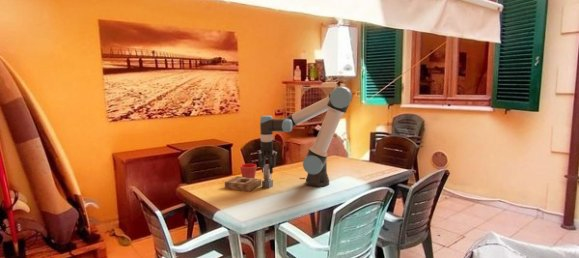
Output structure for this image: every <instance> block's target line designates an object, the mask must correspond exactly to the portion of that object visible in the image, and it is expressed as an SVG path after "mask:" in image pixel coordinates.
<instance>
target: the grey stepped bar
mask: <svg viewBox="0 0 579 258" xmlns="http://www.w3.org/2000/svg"><path fill="white" fill-rule="evenodd" d="M268 169H269V163H265V165H264V178H263V180H261V188H264V189H271V188H272V187H274V180H273V179H272V178H271V179H269V178H268Z"/></svg>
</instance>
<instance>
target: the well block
mask: <svg viewBox="0 0 579 258" xmlns="http://www.w3.org/2000/svg"><path fill="white" fill-rule="evenodd" d="M259 187H262V179H260V178H256V177H255V178H247V177H242V176H235V177H233V178H231V179H228V180H226V181H224V189H228V190H234V191H235V190H236V191H240V192H241V191H242V192H252V191H253V190H255V189H257V188H259Z"/></svg>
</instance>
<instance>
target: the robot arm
mask: <svg viewBox="0 0 579 258" xmlns="http://www.w3.org/2000/svg"><path fill="white" fill-rule="evenodd" d="M353 96H354V95H353V92H352V90H351V89H350V88H349V87H348V86H337V87H335V88H334V89H333V90H332V91H331V92H330V93H328V94H327V96H326V97H325V98H322V99H321V100H319V101H316V102H314V103H313V104H310V105H308V106H306V107H304V108H302V109H300V110H298V111H296V112H294V113H293V114H292V113H291V114H289V115H287V116H286V117H283V118H274V117H273V116H272V115H261V116H260V118H259V119H260V123H259V127H260V149H259V150H257V151H256V153H257V160H258V166H259V167H261V172H262V179H264V165H265V164H267V163H266V160H267V161H268V164H269V169H268V178H269V179H271V180H272V177H273V176H272V174H273V173H274V168H276V167H277V166H276V164H277V154H278V151H275V150H274V149H273V148H274V142H273V140H274V135H273V134H274V133H273V132H279V133H281V132H282V133H283V132H284V133H290V132H292V131H293V128H294V127H297V126H298V125H301V124H302V123H304V122H306V121H309V120H311V119H312V118H314V117H317V116H319V115H321V114H323V113H325V112H326V114H325V116H324V118H323V121H322V124H321V126H320V129H319V131H318V133H317V135H316V139H315V141H314V142H313V143H314V144H313V146H311V147H309V148H308V150H307V154H306V156H305V157H304V159H303V162H302V167H303V168H302V169H303V170H304V171H305V172H306V173H307V175H306V178H305V184H306V185H307V186H309V187H315V188H316V187H317V188H319V187H326V186H329V185H330V179H329V175H328V171H327V166H328V163H327V161H328V160H327V158H328V155H329V154H328V149H329V147H330V144H331V142H332V139H333V137H334V135H335V133H336V130H337V128H338V126H339V123H340V121H341V119H342V116H343V115H344V114H346V113H347V110H348V108H349V106H350V103H351V102H352V101H353Z"/></svg>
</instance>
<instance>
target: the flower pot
mask: <svg viewBox="0 0 579 258" xmlns="http://www.w3.org/2000/svg"><path fill="white" fill-rule="evenodd" d="M239 167H240V172H241V177H247V178H255V179H256V173H257V164H256V163H243V164H241V165H239Z"/></svg>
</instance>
